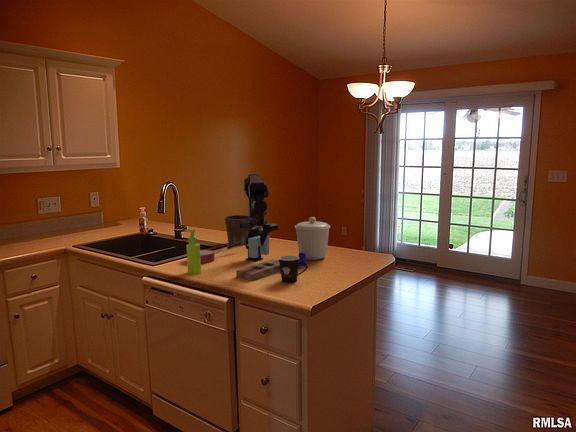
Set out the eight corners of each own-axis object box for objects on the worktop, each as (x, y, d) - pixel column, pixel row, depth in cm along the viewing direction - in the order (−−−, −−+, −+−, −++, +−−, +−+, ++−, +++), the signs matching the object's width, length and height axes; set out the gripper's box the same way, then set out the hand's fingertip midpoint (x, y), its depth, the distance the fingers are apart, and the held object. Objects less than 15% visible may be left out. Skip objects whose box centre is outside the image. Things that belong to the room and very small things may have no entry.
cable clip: (292, 271, 198) (292, 259, 197) (285, 270, 201) (284, 257, 200) (308, 266, 207) (308, 253, 207) (300, 264, 210) (300, 252, 209)
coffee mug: (275, 281, 184) (274, 258, 182) (289, 276, 190) (289, 254, 188) (294, 286, 176) (294, 262, 174) (309, 282, 182) (308, 258, 180)
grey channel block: (248, 257, 193) (248, 238, 192) (264, 253, 200) (263, 234, 199) (254, 258, 191) (253, 239, 190) (269, 254, 198) (269, 235, 197)
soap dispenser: (184, 271, 200) (182, 229, 197) (199, 270, 203) (197, 228, 200) (186, 275, 195) (184, 231, 192) (202, 273, 197) (199, 230, 194)
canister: (325, 263, 211) (325, 220, 208) (290, 260, 217) (289, 219, 214) (334, 254, 228) (334, 214, 225) (301, 252, 234) (300, 213, 231)
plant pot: (258, 243, 259) (257, 216, 256) (236, 248, 248) (235, 220, 245) (241, 239, 271) (240, 214, 268) (219, 243, 260) (218, 217, 257)
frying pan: (230, 249, 244) (230, 238, 243) (246, 253, 236) (246, 241, 235) (183, 261, 220) (182, 249, 219) (199, 265, 211) (198, 252, 211)
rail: (236, 276, 191) (236, 270, 191) (272, 265, 209) (272, 259, 209) (252, 280, 185) (252, 274, 184) (288, 268, 203) (288, 262, 203)
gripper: (230, 210, 193) (231, 245, 195) (260, 214, 180) (261, 250, 183) (248, 207, 201) (249, 240, 203) (278, 211, 189) (279, 246, 191)
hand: (259, 244), depth 195 cm, fingers closed on grey channel block, 3 cm apart
